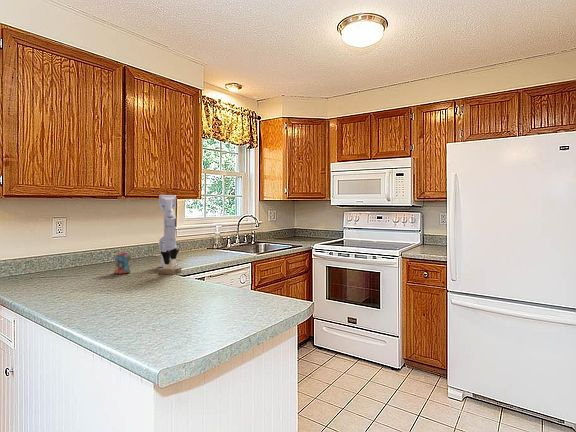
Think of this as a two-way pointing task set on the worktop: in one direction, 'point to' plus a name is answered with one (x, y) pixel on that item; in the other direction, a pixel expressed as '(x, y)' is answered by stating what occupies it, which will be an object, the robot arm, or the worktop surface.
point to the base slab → (169, 271)
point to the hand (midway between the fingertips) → (170, 263)
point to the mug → (122, 263)
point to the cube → (170, 264)
